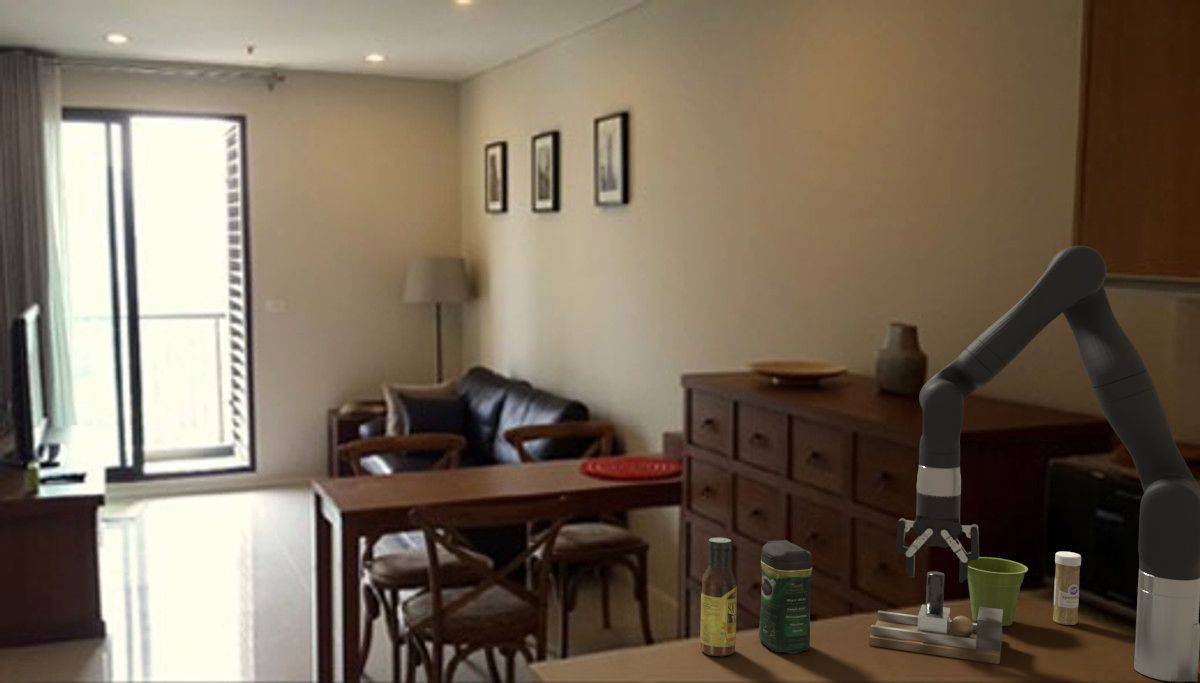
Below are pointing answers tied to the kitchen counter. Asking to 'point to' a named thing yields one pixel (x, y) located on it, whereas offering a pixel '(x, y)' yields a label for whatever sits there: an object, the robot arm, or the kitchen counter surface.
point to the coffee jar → (785, 597)
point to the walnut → (961, 627)
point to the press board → (941, 636)
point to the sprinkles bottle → (1066, 587)
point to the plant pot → (995, 585)
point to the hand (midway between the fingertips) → (936, 579)
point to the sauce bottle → (718, 601)
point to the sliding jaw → (934, 607)
